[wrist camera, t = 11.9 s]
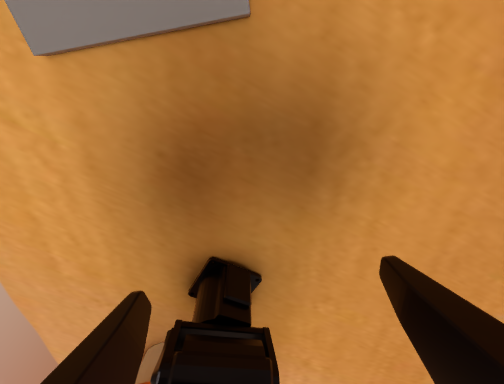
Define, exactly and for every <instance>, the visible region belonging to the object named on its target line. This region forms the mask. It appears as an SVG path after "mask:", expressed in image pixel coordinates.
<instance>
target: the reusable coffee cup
mask: <svg viewBox="0 0 504 384" xmlns="http://www.w3.org/2000/svg"><path fill="white" fill-rule="evenodd" d="M164 343H165V342H163V343H159V344H156V345H154V346H152V347H151V348H149V349H148V351H147V352H146V354H145V357H144V359H143V361H142V363H141V365H140V368H139V371H138V375H137V379H136V382H135V384H151V383H150V381H151V376H152V373H153V371H154V368H155V366H156V364H157V362H158V359H159V357H160V355H161V352H162V349H163V346H164Z"/></svg>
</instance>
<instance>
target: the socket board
mask: <svg viewBox="0 0 504 384" xmlns="http://www.w3.org/2000/svg"><path fill="white" fill-rule="evenodd" d="M5 2H6V4H7V6H8V8H9V10H10V12H11V13H12V15H13V17H14V19H15V21H16V23H17V25H18V27H19V28H20V30H21V32H22V34H23V36H24V38H25V40H26V42H27V44H28V45H29V47H30V49H31V51H32V53H33V55H34V56H49V55H54V54H59V53H64V52H70V51H75V50H80V49H85V48H90V47H95V46H100V45H105V44H110V43H116V42H121V41H126V40H131V39H136V38H141V37H146V36H151V35H156V34H162V33H167V32H172V31H177V30H182V29H187V28H192V27H197V26H202V25H208V24H213V23H218V22H223V21H228V20H233V19H238V18H243V17H248V16H250V7H249V0H5Z"/></svg>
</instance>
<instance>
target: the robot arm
mask: <svg viewBox="0 0 504 384" xmlns="http://www.w3.org/2000/svg"><path fill="white" fill-rule="evenodd" d="M213 262H214V263H213ZM379 275H380V279H381V281H382V283H383V286H384V288H385V290H386V292H387V295H388V297H389V299H390V301H391V304H392V306H393V308H394V310H395V313H396V315H397V317H398V319H399V321H400V323H401V325H402V327H403V329H404V330H405V332H406V334H407V336H408V337H409V339H410V341H411V343H412V344H413V346H414V348H415V350H416V351H417V353H418V355H419V357H420V358H421V360H422V362H423V364H424V366H425V367H426V369H427V371H428V373H429V374H430V376H431V378H432V380H433V381H434V383H435V384H504V323H502V322H500V321H499V320H497V319H496V318H494V317H492V316H491V315H489V314H488V313H486V312H484V311H483V310H481V309H480V308H478V307H476V306H475V305H473V304H472V303H470V302H468V301H467V300H465V299H463V298H462V297H460V296H459V295H457V294H455V293H454V292H452V291H451V290H449V289H447V288H446V287H444V286H443V285H441V284H439V283H438V282H436V281H435V280H433V279H431V278H430V277H428V276H426V275H425V274H423V273H422V272H420V271H418V270H417V269H415V268H414V267H412V266H410V265H409V264H407V263H406V262H404V261H402V260H401V259H399V258H398V257H396V256H385V257H382V259H381V264H380V271H379ZM261 281H262V278H261V275H259V274H257V273H254V272H251V271H249V270H246V269H243V268H241V267H238V266H236V265H233V264H230V263H228V262H225V261H222V260H220V259H217V258H214V257H212V258H210V259H209V260H208V262H207V263H206V265H205V266H204V268H203V269H202V271H201V272H200V274H199V275H198V277H197V278H196V280H195V282H194V283H193V285H192V286H191V288H190V289H189V292H188V295H189V296H191V297H194V298H197V300H196V305H195V310H194V315H193V320H192V322H187V321H182V320H176V322H175V325H174V328H172V329H171V330H169V331H168V332H167V336H166V339H165V343H164V346H163V349H162V352H161V355H160V357H159V359H158V362H157V364H156V366H155V368H154V371H153V373H152V376H151V381H150V383H151V384H280V383H279V371H278V365H277V361H276V356H275V352H274V348H273V343H272V339H271V335H270V330H269V328H268V327H263V328H255V327H251V293H252V292H253V291H254V289H255V288H256V287H257V286H258V285H259V283H260V282H261ZM150 315H151V303H150V301H149V300H148V298H147V296H146V294H145V293H144V292H143V291H134V292H131V293H130V294H129V295H128V296H127V297H126V298H125V299H124V300H123V301H122V302H121V303H120V304H119V305H118V306H117V307H116V308H115V309H114V310H113V311H112V312H111V313H110V314H109V315H108V316H107V317H106V318H105V319H104V320H103V321H102V322H101V323H100V324H99V325H98V326H97V327H96V328H95V329H94V330H93V331H92V332H91V333H90V334H89V335H88V336H87V337H86V338H85V339H84V340H83V341H82V342H81V343H80V344H79V345H78V346H77V347H76V348H75V349H74V350H73V351H72V352H71V353H70V354H69V355H68V356H67V357H66V358H65V359H64V360H63V361H62V362H61V363H60V364H59V365H58V366H57V368H56V369H54V371H52V372H51V373H50V374H49V375H48V376H47V378H46V379H44V380H43V382H41V384H135V382H136V379H137V375H138V371H139V368H140V364H141V361H142V357H143V353H144V348H145V343H146V337H147V332H148V326H149V320H150Z"/></svg>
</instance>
